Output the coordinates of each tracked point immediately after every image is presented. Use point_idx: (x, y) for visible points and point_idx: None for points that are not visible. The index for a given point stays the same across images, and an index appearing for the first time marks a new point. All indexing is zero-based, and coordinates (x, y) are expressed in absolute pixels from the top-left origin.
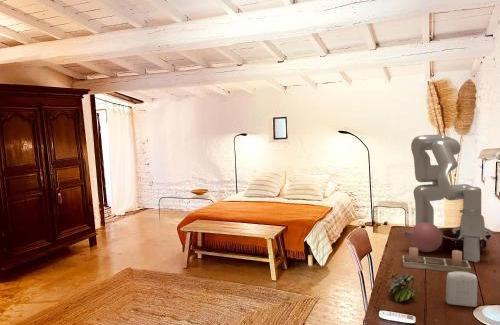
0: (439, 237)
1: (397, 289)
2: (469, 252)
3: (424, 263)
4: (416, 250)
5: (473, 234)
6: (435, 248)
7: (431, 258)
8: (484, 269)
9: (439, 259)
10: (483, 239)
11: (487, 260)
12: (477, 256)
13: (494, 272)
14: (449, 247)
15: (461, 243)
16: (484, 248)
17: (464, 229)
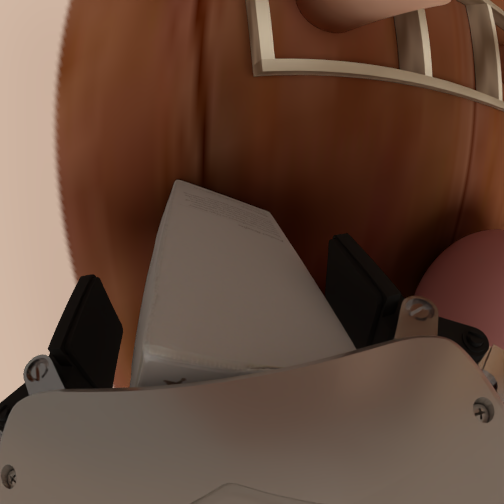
0: (480, 319)
1: None
2: (238, 223)
3: (491, 7)
4: None
5: (213, 432)
6: (446, 257)
7: (476, 92)
8: (125, 44)
9: (445, 81)
10: (73, 378)
11: (112, 260)
12: (165, 212)
13: (69, 24)
14: None
15: (359, 258)
16: (86, 276)
17: (487, 465)
